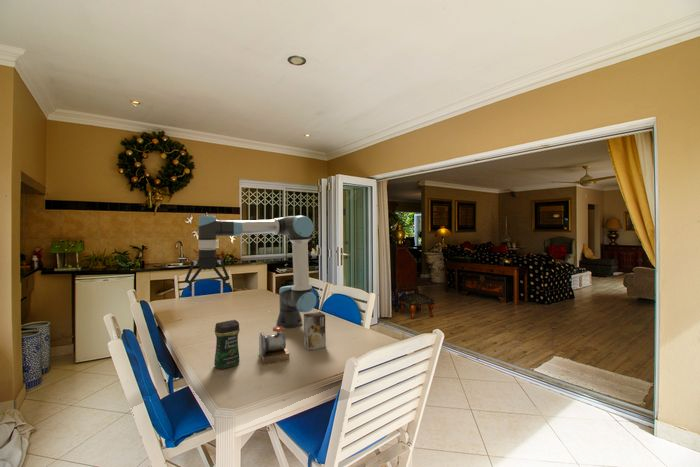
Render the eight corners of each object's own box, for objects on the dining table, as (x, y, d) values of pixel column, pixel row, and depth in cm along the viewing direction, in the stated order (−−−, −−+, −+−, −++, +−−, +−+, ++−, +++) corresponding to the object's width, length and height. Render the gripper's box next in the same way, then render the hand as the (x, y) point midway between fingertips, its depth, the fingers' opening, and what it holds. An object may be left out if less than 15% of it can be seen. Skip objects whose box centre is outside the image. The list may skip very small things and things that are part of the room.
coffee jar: (219, 371, 127) (218, 325, 127) (212, 365, 133) (211, 321, 133) (242, 364, 134) (242, 321, 134) (234, 359, 140) (234, 317, 139)
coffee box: (320, 343, 159) (320, 311, 159) (325, 347, 153) (326, 314, 153) (303, 346, 155) (303, 313, 155) (308, 350, 149) (307, 316, 149)
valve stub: (283, 350, 150) (283, 323, 149) (289, 360, 139) (289, 330, 138) (258, 354, 145) (258, 326, 145) (263, 364, 134) (263, 334, 134)
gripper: (234, 248, 154) (234, 292, 154) (178, 249, 144) (178, 297, 144) (235, 249, 147) (235, 295, 147) (177, 250, 137) (177, 300, 137)
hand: (207, 296), depth 146 cm, fingers open, 11 cm apart
